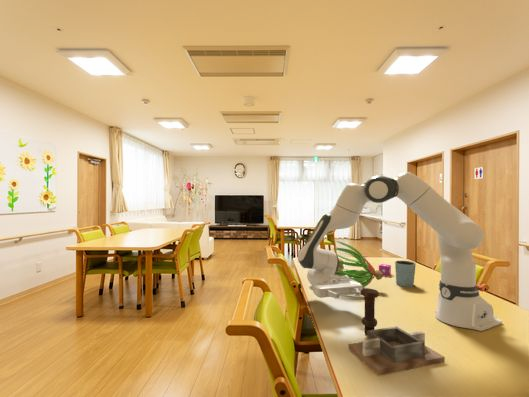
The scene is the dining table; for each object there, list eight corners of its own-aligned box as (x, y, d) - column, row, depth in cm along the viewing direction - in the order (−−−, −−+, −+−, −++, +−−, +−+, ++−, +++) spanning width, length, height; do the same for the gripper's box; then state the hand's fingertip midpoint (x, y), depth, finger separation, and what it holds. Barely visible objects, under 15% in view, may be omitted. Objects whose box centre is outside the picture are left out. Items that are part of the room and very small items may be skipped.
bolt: (365, 329, 102) (365, 287, 102) (379, 334, 99) (380, 290, 99) (358, 335, 98) (359, 291, 98) (373, 340, 95) (374, 294, 95)
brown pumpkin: (322, 270, 188) (322, 255, 188) (339, 270, 189) (339, 254, 189) (328, 275, 176) (328, 258, 176) (346, 274, 177) (346, 258, 177)
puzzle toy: (381, 273, 183) (381, 263, 183) (390, 274, 180) (390, 265, 180) (378, 274, 178) (378, 265, 178) (388, 276, 175) (388, 266, 175)
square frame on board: (407, 339, 96) (407, 322, 96) (444, 362, 82) (444, 342, 82) (348, 348, 89) (348, 330, 89) (378, 375, 76) (378, 354, 76)
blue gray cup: (405, 281, 164) (405, 260, 164) (420, 286, 154) (420, 263, 155) (390, 282, 161) (390, 261, 161) (404, 288, 151) (405, 265, 151)
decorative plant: (385, 307, 139) (321, 299, 145) (377, 282, 163) (322, 276, 169) (389, 255, 134) (323, 250, 140) (380, 237, 158) (324, 233, 164)
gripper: (307, 278, 120) (323, 289, 107) (350, 276, 126) (371, 285, 113) (307, 294, 120) (323, 306, 107) (350, 290, 126) (371, 301, 113)
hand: (348, 295), depth 110 cm, fingers open, 8 cm apart
